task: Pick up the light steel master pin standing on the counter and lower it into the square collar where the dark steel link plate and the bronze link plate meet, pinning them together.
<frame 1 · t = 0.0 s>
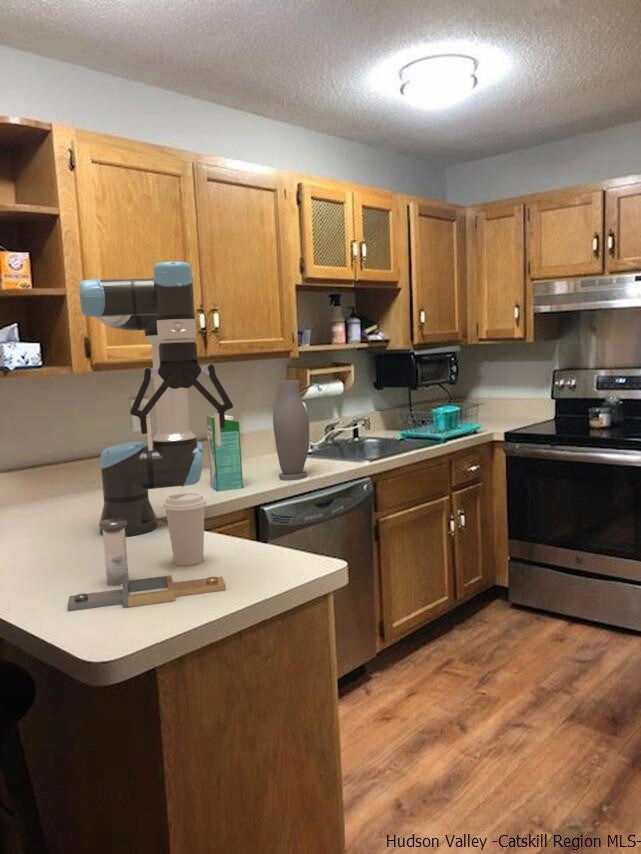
hand: (184, 447, 142), 28 cm above the worktop, fingers open, 13 cm apart
milk carton: (226, 488, 240), on the worktop
vase: (293, 477, 252), on the worktop
link plate bronze: (148, 595, 137), on the worktop
coffee cup: (188, 562, 158), on the worktop
link plate steel: (148, 595, 137), on the worktop
master pin: (118, 582, 146), on the worktop
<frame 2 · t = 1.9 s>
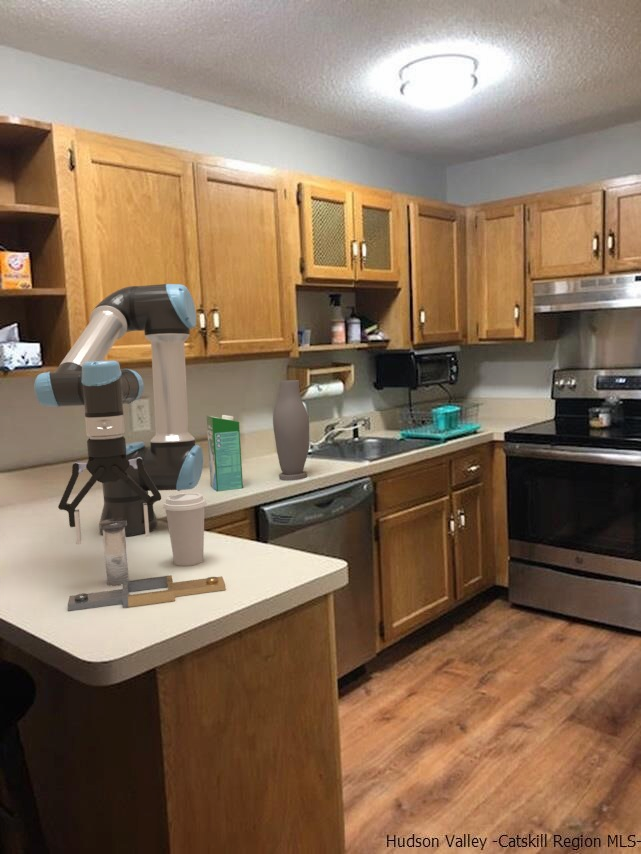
hand: (113, 538, 145), 9 cm above the worktop, fingers open, 13 cm apart
nothing on the worktop moved.
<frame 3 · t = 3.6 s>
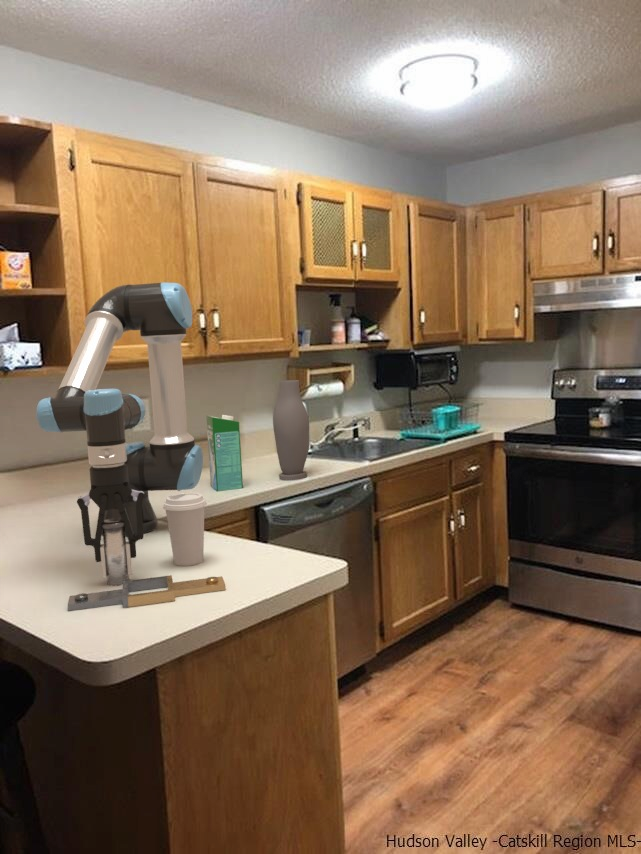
hand: (117, 574, 146), 2 cm above the worktop, fingers closed on master pin, 4 cm apart
master pin: (118, 581, 146), on the worktop, touching gripper
everything else where it was.
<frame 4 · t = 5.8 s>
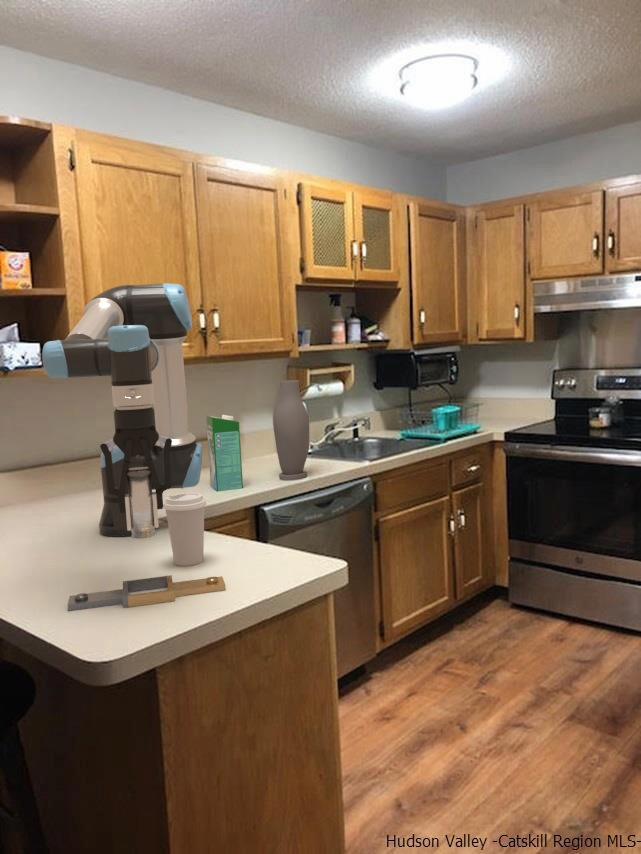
hand: (143, 527, 135), 14 cm above the worktop, fingers closed on master pin, 4 cm apart
master pin: (143, 535, 136), point 12 cm above the worktop, touching gripper
everything else where it was.
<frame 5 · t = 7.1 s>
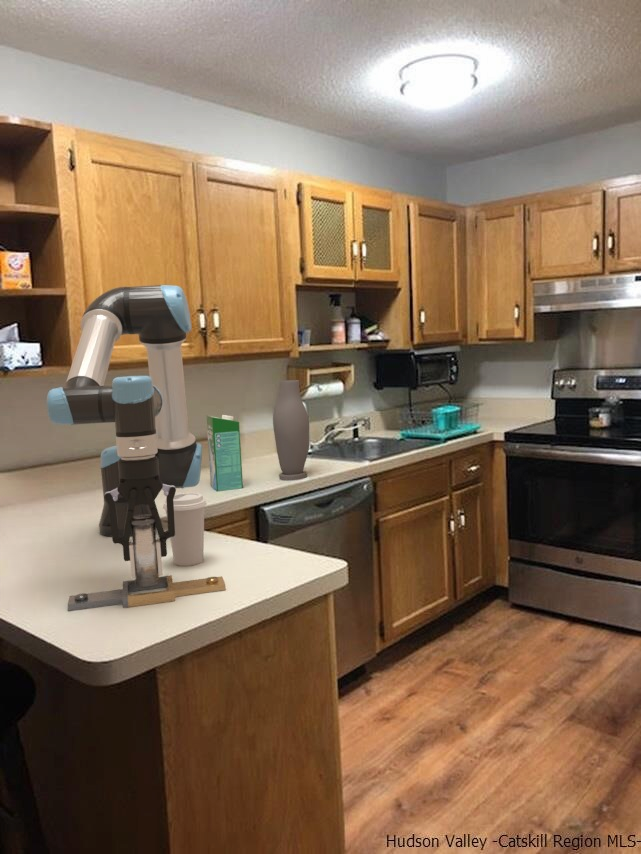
hand: (147, 574, 137), 4 cm above the worktop, fingers closed on master pin, 4 cm apart
master pin: (147, 582, 137), point 3 cm above the worktop, touching gripper
everything else where it was.
when the fingers open (4 cm above the worktop, at t = 8.2 s): master pin drops 1 cm, on the worktop.
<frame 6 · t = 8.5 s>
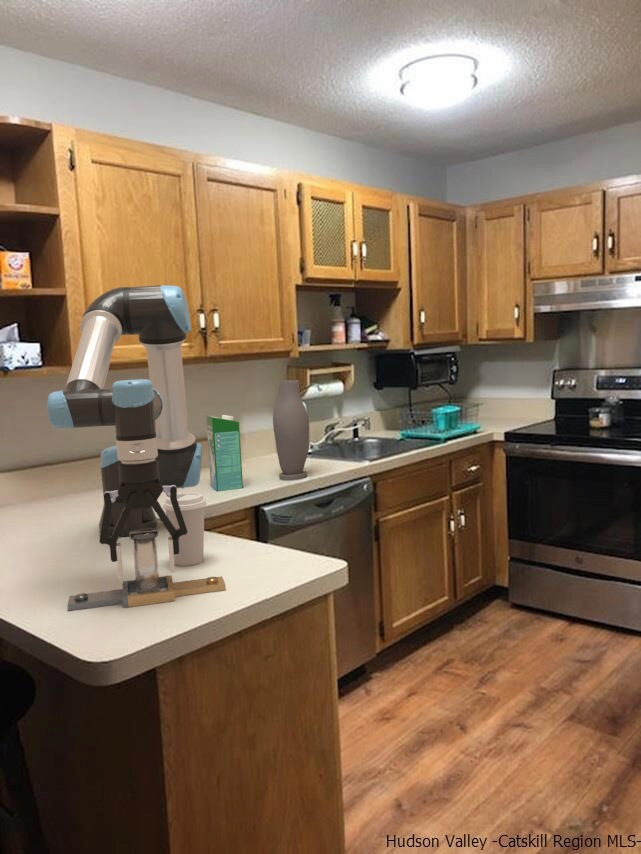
hand: (147, 573, 137), 5 cm above the worktop, fingers open, 9 cm apart
master pin: (148, 595, 137), on the worktop
everything else where it was.
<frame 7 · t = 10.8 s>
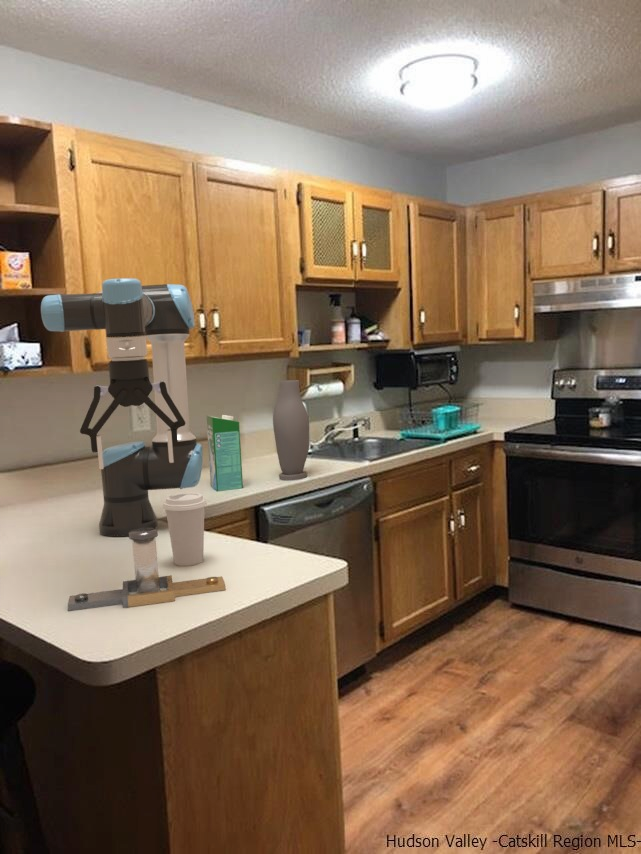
hand: (136, 464, 141), 25 cm above the worktop, fingers open, 13 cm apart
nothing on the worktop moved.
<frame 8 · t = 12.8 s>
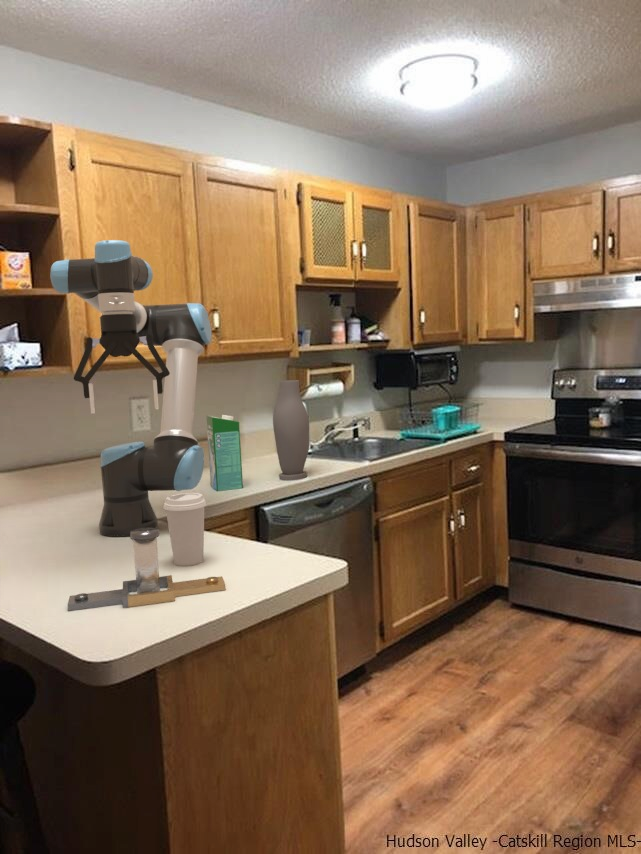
hand: (125, 411, 155), 35 cm above the worktop, fingers open, 13 cm apart
nothing on the worktop moved.
at the end: master pin 0.0 cm from the link plate steel (horizontally); master pin on the worktop; master pin tilted 1° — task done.
